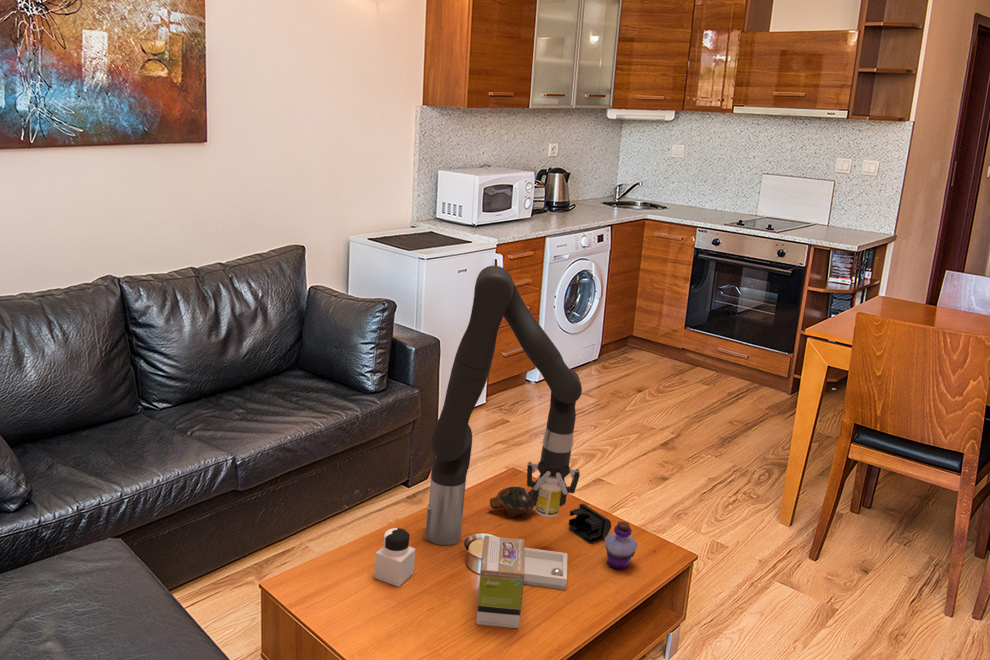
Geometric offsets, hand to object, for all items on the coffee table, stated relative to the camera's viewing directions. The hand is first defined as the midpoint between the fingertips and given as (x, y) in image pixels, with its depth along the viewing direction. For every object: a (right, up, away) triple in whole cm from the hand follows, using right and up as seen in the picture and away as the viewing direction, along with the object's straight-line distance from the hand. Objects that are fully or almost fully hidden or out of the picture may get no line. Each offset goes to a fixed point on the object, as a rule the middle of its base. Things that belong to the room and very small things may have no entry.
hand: (548, 502), depth 220 cm
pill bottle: (0, -3, +1) cm, 3 cm away
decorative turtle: (-8, -7, +20) cm, 23 cm away
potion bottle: (+18, -16, -1) cm, 24 cm away
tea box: (-13, -20, -24) cm, 34 cm away
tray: (-3, -16, -8) cm, 18 cm away
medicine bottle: (-39, -15, -15) cm, 44 cm away
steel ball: (+1, -17, -12) cm, 20 cm away
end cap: (+12, -12, +13) cm, 21 cm away
